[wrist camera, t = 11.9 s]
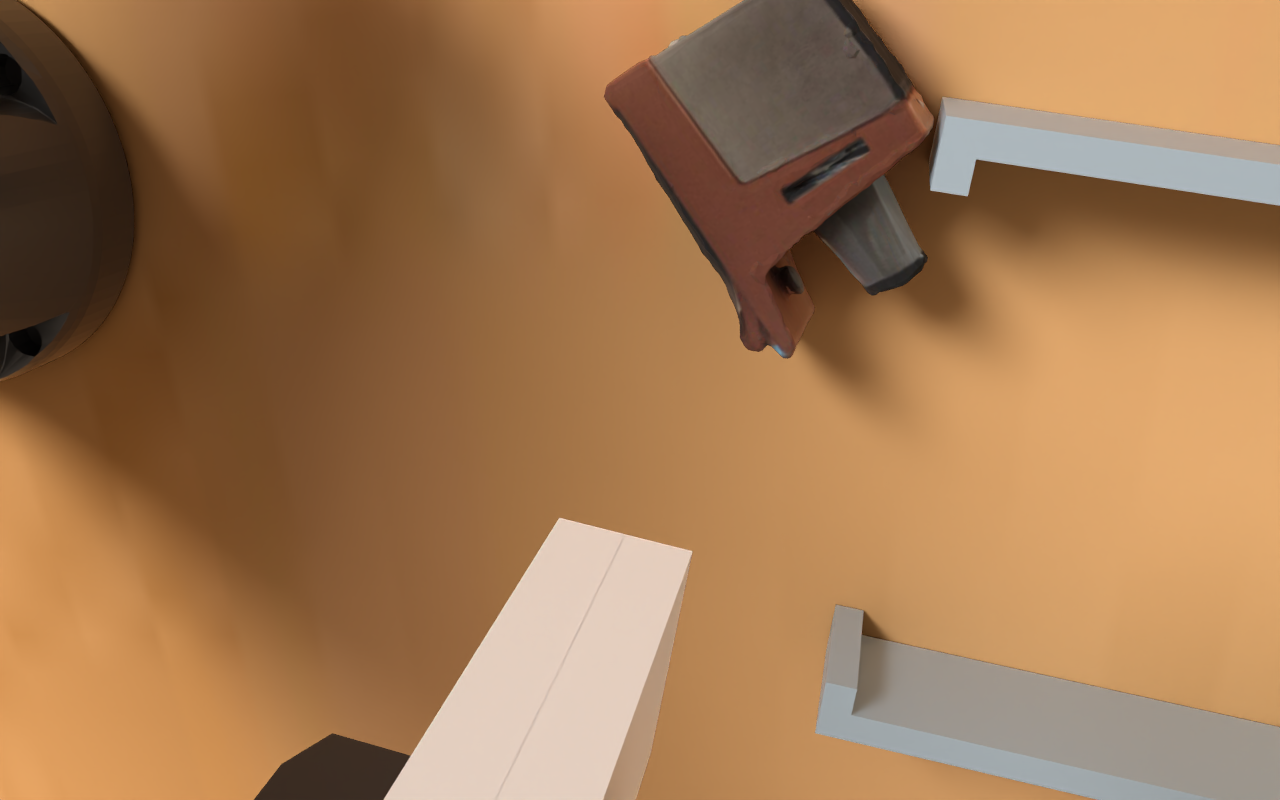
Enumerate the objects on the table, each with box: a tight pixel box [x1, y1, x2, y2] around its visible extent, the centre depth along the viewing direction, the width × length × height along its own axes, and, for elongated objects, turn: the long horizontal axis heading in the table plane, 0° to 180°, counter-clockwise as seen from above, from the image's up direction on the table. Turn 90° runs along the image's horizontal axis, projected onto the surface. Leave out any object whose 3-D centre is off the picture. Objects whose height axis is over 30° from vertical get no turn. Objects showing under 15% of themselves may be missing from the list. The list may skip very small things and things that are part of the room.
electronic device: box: [604, 0, 934, 358], centre depth 34 cm, size 4×10×8 cm
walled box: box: [815, 97, 1280, 800], centre depth 35 cm, size 22×20×5 cm
